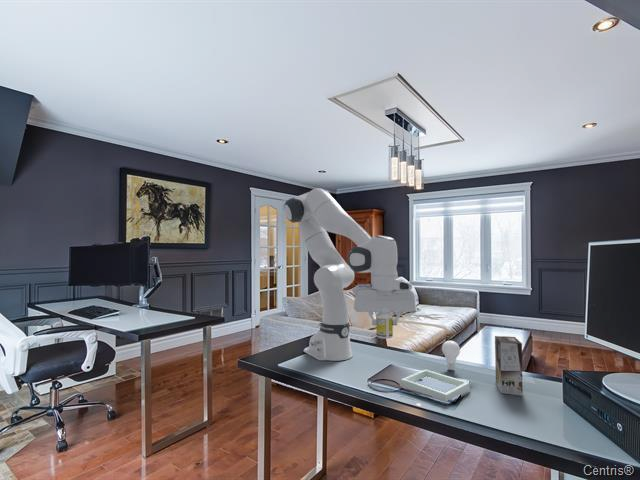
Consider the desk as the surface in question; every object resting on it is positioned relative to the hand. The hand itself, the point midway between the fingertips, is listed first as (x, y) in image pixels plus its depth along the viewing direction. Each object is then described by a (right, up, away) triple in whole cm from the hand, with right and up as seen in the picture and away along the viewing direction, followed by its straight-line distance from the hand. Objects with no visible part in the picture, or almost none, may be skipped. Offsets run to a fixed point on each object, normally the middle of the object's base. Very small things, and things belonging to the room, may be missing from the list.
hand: (384, 325), depth 115 cm
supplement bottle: (0, -4, 0) cm, 4 cm away
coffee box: (+40, -20, -4) cm, 44 cm away
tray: (+15, -20, -5) cm, 25 cm away
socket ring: (0, -20, -1) cm, 20 cm away
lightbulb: (+28, -21, +13) cm, 37 cm away
